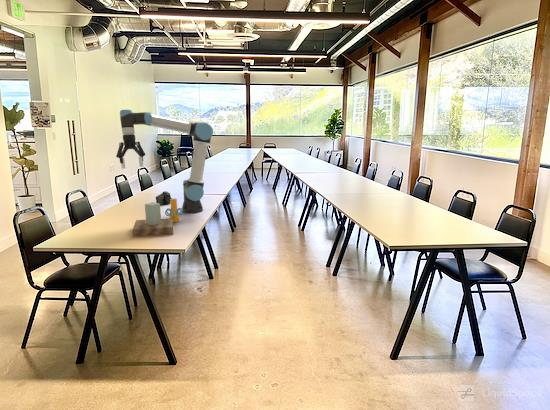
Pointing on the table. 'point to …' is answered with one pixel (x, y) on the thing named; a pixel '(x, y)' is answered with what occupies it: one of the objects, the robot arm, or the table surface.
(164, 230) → the walnut block
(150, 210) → the sage block
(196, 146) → the robot arm
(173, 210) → the orange post with rings
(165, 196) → the camera
